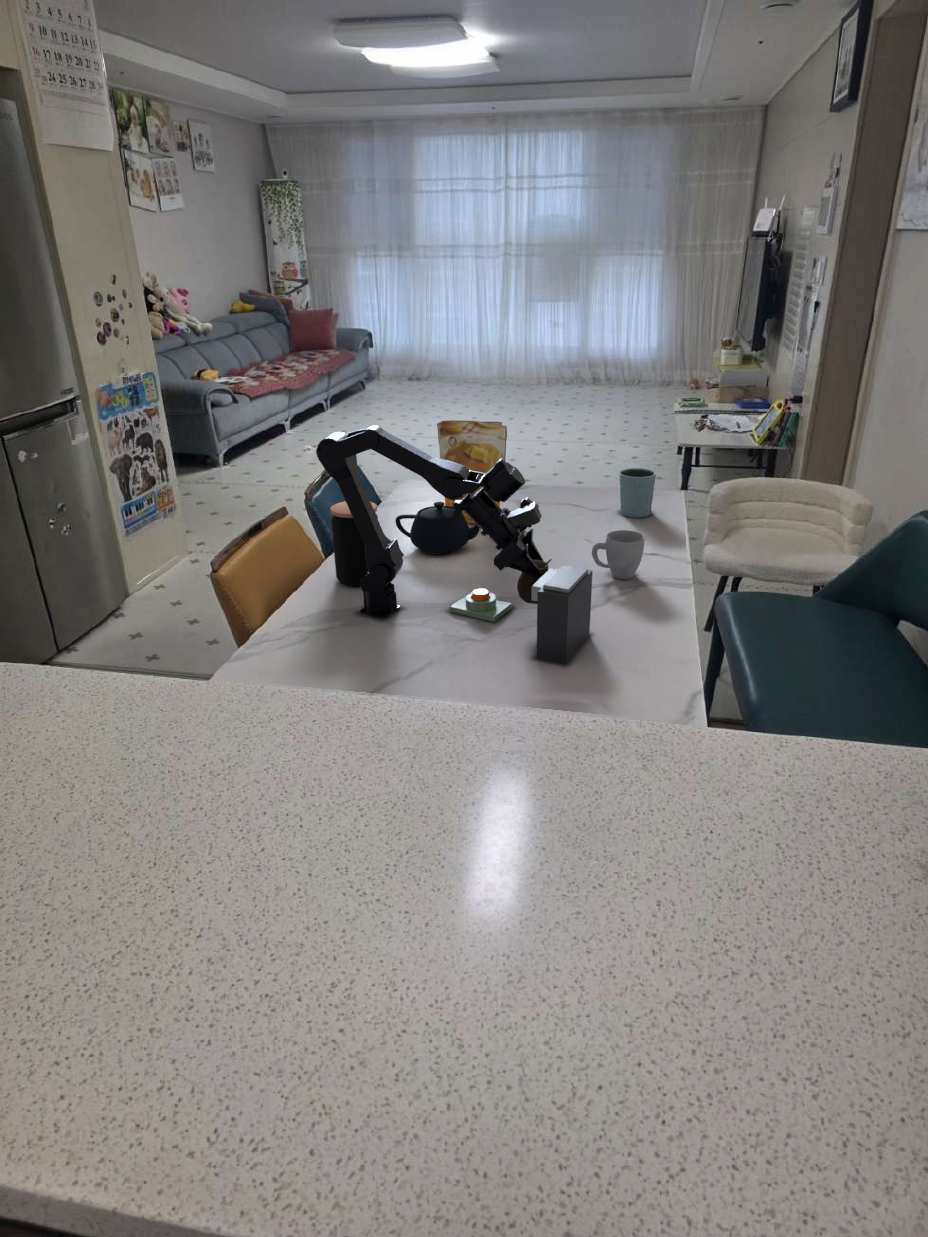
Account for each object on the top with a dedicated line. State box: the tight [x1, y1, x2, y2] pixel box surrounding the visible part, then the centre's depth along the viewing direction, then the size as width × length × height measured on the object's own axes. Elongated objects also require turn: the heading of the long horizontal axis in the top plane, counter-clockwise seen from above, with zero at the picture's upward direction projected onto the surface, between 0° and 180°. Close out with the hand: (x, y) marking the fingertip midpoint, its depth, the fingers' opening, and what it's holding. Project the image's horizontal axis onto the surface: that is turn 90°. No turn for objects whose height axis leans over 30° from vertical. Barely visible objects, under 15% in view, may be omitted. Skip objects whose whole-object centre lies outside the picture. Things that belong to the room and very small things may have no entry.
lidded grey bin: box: [532, 565, 593, 665], centre depth 160 cm, size 8×14×15 cm, turn 154°
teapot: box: [394, 501, 481, 555], centre depth 212 cm, size 25×16×12 cm, turn 81°
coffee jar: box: [330, 501, 379, 588], centre depth 192 cm, size 11×11×18 cm
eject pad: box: [449, 592, 513, 623], centre depth 178 cm, size 11×8×3 cm
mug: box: [591, 529, 646, 580], centre depth 193 cm, size 12×9×10 cm
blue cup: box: [618, 467, 657, 519], centre depth 235 cm, size 10×10×12 cm
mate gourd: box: [516, 558, 552, 605], centre depth 169 cm, size 7×8×10 cm
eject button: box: [471, 588, 490, 601], centre depth 177 cm, size 4×4×2 cm
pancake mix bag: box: [436, 420, 508, 525], centre depth 229 cm, size 7×19×28 cm, turn 77°
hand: (542, 570), depth 168 cm, fingers closed on mate gourd, 5 cm apart
